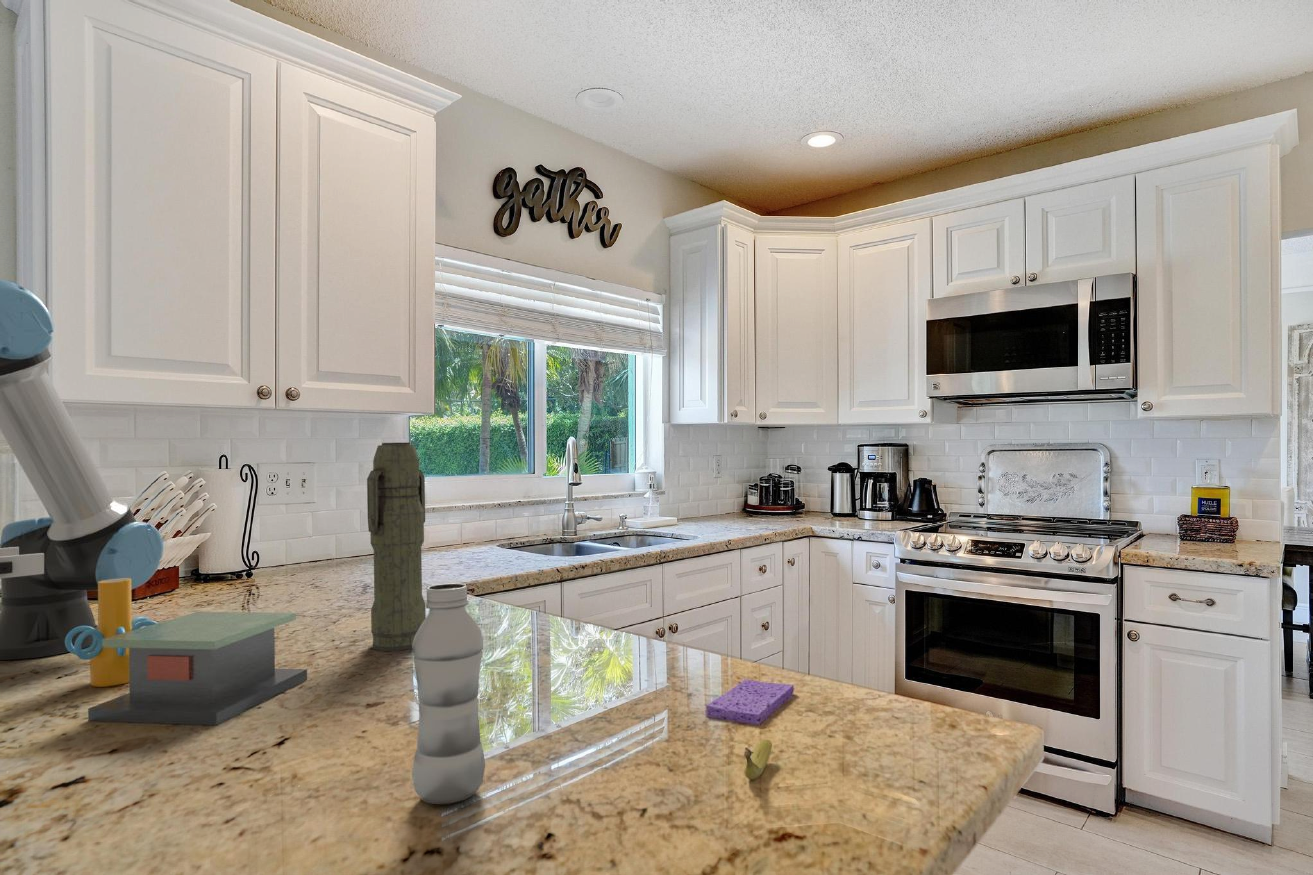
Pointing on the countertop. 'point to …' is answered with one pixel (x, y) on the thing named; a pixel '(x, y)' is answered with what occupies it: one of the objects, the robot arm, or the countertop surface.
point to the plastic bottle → (448, 699)
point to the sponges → (750, 701)
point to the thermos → (396, 545)
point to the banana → (757, 759)
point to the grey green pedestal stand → (199, 669)
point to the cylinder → (108, 634)
